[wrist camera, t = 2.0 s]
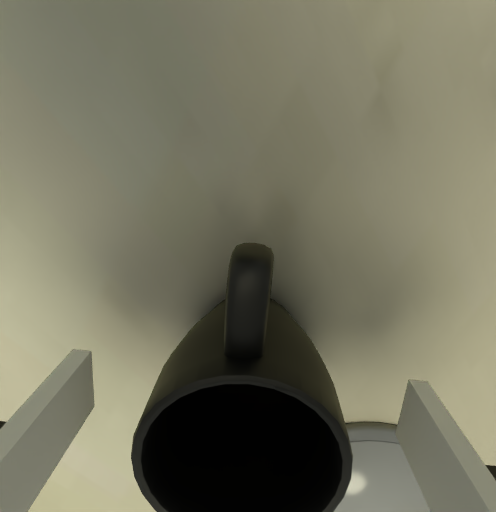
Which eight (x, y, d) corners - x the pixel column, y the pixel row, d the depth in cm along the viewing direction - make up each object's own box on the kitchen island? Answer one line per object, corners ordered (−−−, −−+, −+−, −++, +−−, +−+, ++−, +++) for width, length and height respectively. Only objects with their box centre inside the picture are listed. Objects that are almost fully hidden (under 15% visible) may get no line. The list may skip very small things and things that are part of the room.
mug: (337, 213, 20) (398, 280, 11) (307, 396, 24) (335, 557, 15) (186, 200, 20) (123, 255, 11) (181, 385, 24) (131, 537, 15)
